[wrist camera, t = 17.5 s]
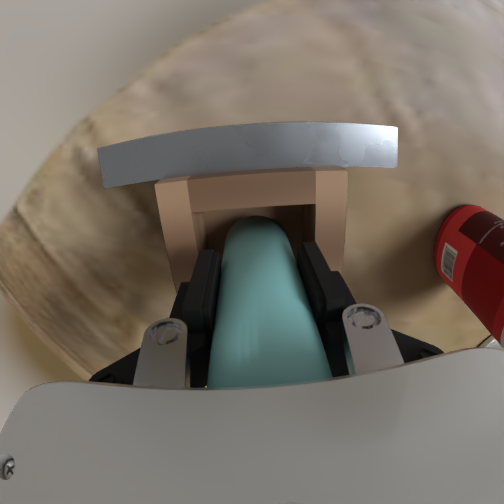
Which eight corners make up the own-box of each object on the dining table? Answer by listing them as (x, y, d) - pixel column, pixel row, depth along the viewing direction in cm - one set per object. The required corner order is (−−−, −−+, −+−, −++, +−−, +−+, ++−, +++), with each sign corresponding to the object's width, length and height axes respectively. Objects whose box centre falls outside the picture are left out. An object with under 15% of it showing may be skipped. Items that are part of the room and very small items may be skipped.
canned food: (450, 291, 23) (510, 365, 13) (416, 248, 20) (497, 331, 11) (494, 237, 20) (564, 294, 10) (468, 184, 18) (563, 237, 8)
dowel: (288, 270, 15) (338, 478, 5) (228, 274, 15) (214, 489, 5) (287, 213, 14) (371, 429, 4) (221, 217, 14) (181, 446, 4)
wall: (353, 151, 17) (396, 167, 12) (143, 166, 17) (104, 188, 12) (352, 122, 16) (397, 127, 11) (140, 138, 16) (97, 148, 11)
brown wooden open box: (310, 261, 21) (335, 322, 14) (202, 269, 21) (187, 333, 14) (310, 151, 17) (347, 170, 11) (186, 160, 17) (154, 184, 11)
